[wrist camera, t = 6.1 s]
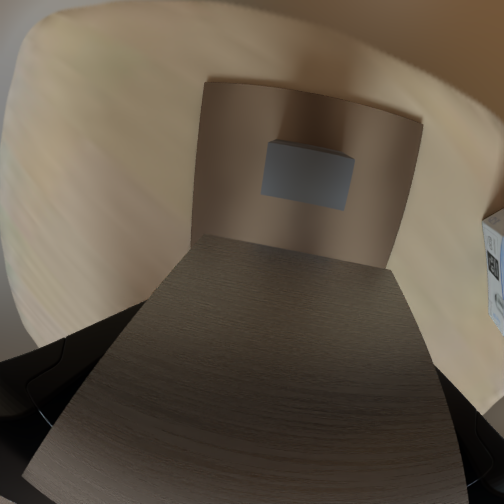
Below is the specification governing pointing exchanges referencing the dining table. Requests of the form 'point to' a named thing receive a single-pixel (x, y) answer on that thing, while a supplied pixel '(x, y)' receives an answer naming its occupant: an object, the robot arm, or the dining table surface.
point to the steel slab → (259, 393)
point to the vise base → (292, 219)
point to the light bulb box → (495, 265)
